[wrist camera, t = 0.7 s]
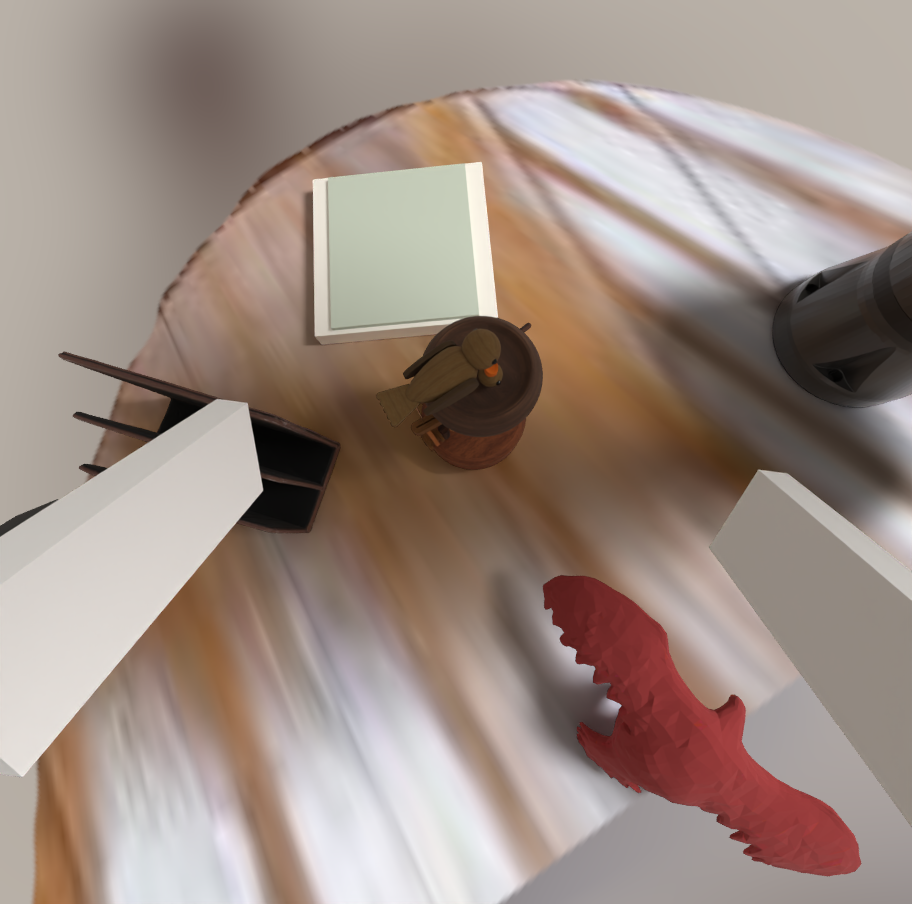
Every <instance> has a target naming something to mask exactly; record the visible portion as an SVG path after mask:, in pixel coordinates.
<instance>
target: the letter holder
mask: <svg viewBox="0 0 912 904" xmlns="http://www.w3.org/2000/svg"><path fill="white" fill-rule="evenodd" d="M59 357H60V358H62V359H63V360H66V361H69V362H72V363H75V364H77V365H80V366H83V367H85V368H88V369H91V370H94V371H96V372H100V373H102V374H105V375H108V376H111V377H114V378H116V379H119V380H122V381H125V382H128V383H131V384H134V385H136V386H139V387H142V388H145V389H148V390H151V391H153V392H156V393H158V394H162V395H164V396H167V397H169V398H171V401H170V404H169V407H168V409H167V412H166V414H165V417H164V419H163V421H162V423H161V425H160V428H159V430H158V431H157V433H156V432H152V431H149V430H145V429H141V428H137V427H133V426H129V425H125V424H122V423H118V422H115V421H111V420H108V419H103V418H100V417H96V416H92V415H88V414H85V413H82V412H76V413H75V414H74V415H73V417H74V418H76V419H78V420H81V421H84V422H87V423H90V424H93V425H96V426H100V427H102V428H105V429H109V430H112V431H115V432H118V433H121V434H124V435H127V436H130V437H134V438H137V439H140V440H142V441H146V442H150V441H152V440H153V439H155V438H156V437H158V436H160V435H161V434H163V433H164V432H166V431H167V430H169V429H171V428H172V427H174V426H175V425H177V424H178V423H180V422H182V421H183V420H185V419H186V418H188V417H190V416H191V415H193V414H194V413H196V412H197V411H199V410H201V409H202V408H204V407H205V406H207V405H208V404H210V403H212V402H213V401H215V400H216V399H220V398H217V397H214V396H210V395H207V394H204V393H201V392H197V391H194V390H191V389H188V388H184V387H181V386H178V385H175V384H172V383H169V382H165V381H162V380H159V379H155V378H152V377H148V376H145V375H141V374H138V373H135V372H131V371H128V370H125V369H121V368H118V367H114V366H111V365H108V364H104V363H101V362H98V361H95V360H92V359H88V358H84V357H81V356H77V355H74V354H71V353H67V352H63V353H60V354H59ZM222 400H223V399H222ZM248 409H249V414H250V420H251V425H252V431H253V436H254V442H255V447H256V453H257V458H258V464H259V469H260V475H261V481H262V486H263V491H262V493H261V494H260V495H259V496H258V497H257V498H256V500H255V501H254V502H253V503H252V504H251V506H250V507H249V508H248V509H247V510H246V512H245V513H244V514H243V515H242V516H241V518H240V519H239V520H238V521H237V522H236V523H238V524H241V525H245V526H248V527H252V528H256V529H259V530H263V531H266V532H271V533H309V532H310V531H311V527H312V525H313V522H314V519H315V517H316V514H317V511H318V508H319V505H320V503H321V500H322V497H323V495H324V492H325V489H326V486H327V483H328V481H329V478H330V475H331V473H332V470H333V467H334V465H335V462H336V459H337V456H338V453H339V450H340V444H339V443H338V442H336V441H333V440H331V439H329V438H327V437H324V436H322V435H320V434H318V433H316V432H314V431H312V430H310V429H308V428H304V427H301V426H299V425H296V424H294V423H292V422H289V421H287V420H285V419H283V418H281V417H278V416H276V415H273V414H270V413H267V412H263V411H260V410H257V409H253V408H249V407H248ZM79 469H81V470H82V471H84V472H86V473H89V474H91V475H94V476H97V475H98V474H100V473H101V472H103V471H105V470H106V469H108V468H105V467H100V466H96V465H91V464H83V465H81V466H79Z"/></svg>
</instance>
